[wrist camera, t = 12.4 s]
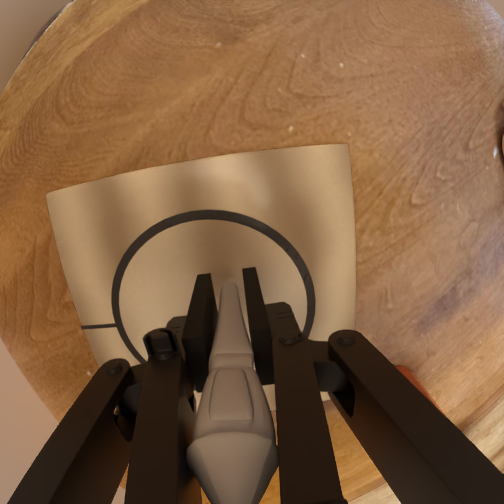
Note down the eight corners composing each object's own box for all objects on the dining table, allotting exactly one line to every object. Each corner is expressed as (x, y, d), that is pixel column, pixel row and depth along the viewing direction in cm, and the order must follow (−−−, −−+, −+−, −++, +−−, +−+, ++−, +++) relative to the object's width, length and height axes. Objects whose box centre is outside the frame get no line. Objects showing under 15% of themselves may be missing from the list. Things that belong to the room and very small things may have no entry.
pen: (206, 307, 18) (187, 543, 5) (206, 265, 17) (172, 507, 4) (248, 308, 18) (285, 541, 5) (250, 266, 18) (304, 504, 4)
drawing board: (127, 413, 24) (124, 421, 23) (52, 191, 18) (44, 193, 17) (347, 387, 24) (351, 395, 23) (343, 143, 19) (349, 143, 17)
